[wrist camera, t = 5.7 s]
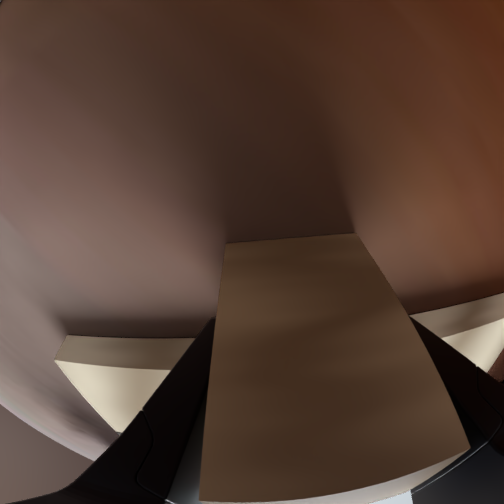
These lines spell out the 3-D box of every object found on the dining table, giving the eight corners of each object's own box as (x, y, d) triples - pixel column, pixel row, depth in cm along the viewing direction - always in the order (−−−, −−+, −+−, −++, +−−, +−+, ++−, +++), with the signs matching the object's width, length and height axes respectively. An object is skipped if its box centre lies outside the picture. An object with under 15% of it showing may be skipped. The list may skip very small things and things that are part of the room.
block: (355, 233, 9) (470, 448, 2) (324, 417, 15) (340, 523, 9) (225, 243, 9) (198, 501, 3) (256, 424, 15) (259, 532, 9)
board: (508, 291, 10) (524, 311, 9) (446, 398, 15) (454, 415, 14) (67, 334, 11) (53, 360, 10) (140, 431, 16) (136, 451, 15)
